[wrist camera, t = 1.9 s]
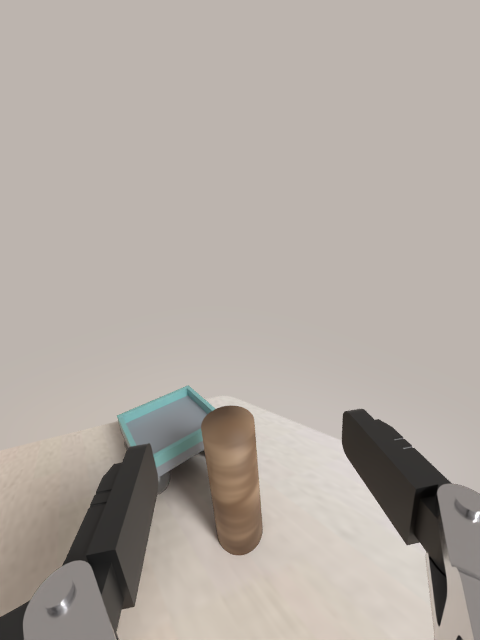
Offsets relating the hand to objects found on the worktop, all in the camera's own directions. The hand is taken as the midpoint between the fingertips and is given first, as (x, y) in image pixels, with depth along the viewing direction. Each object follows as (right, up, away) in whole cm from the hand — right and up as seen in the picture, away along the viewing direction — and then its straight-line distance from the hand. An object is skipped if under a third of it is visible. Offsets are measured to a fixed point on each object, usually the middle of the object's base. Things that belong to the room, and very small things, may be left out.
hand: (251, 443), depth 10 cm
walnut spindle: (0, -18, +17) cm, 25 cm away
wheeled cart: (-10, -15, +28) cm, 34 cm away
